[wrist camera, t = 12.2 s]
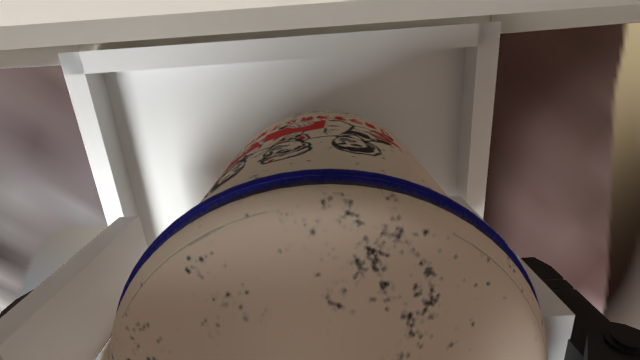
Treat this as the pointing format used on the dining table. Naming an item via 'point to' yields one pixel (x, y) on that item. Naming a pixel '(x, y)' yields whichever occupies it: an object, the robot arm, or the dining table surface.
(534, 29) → the housing
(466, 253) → the teacup with lid
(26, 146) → the dining table surface
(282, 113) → the tray
